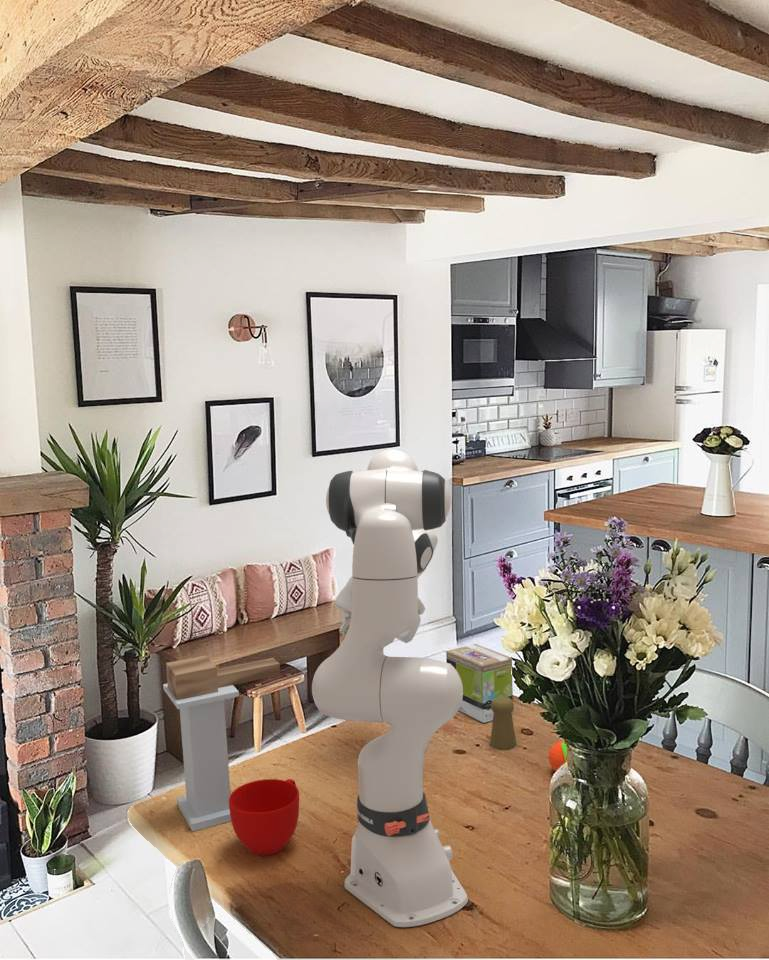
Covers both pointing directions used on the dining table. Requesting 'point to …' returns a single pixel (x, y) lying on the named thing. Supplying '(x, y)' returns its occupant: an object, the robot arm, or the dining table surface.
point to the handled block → (214, 675)
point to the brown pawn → (502, 724)
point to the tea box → (481, 678)
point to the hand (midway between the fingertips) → (359, 641)
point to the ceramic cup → (265, 814)
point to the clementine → (558, 755)
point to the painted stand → (205, 757)
